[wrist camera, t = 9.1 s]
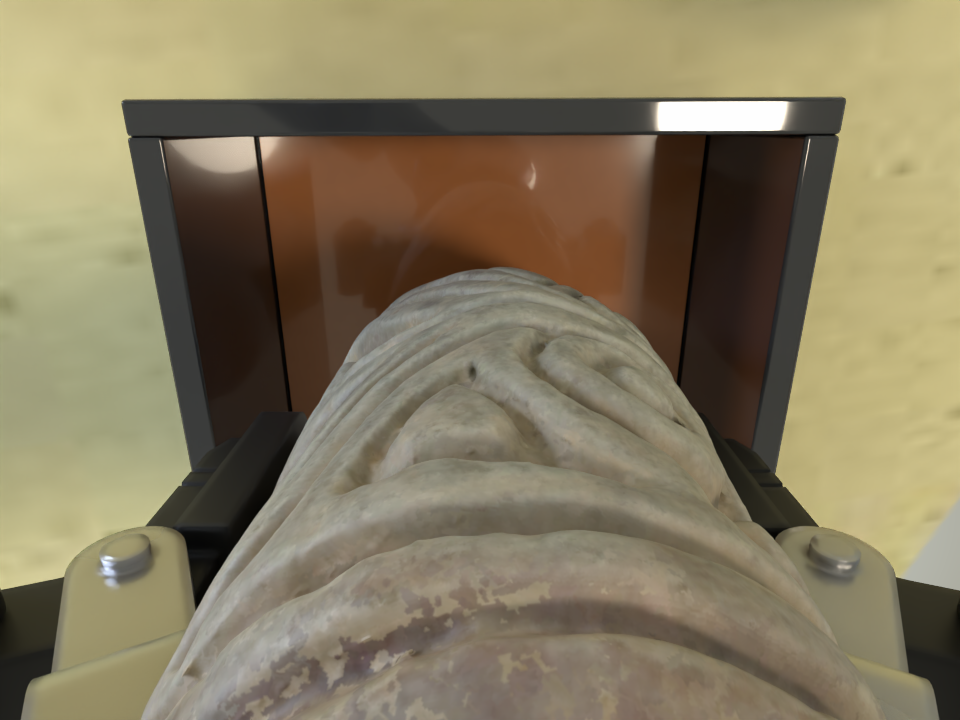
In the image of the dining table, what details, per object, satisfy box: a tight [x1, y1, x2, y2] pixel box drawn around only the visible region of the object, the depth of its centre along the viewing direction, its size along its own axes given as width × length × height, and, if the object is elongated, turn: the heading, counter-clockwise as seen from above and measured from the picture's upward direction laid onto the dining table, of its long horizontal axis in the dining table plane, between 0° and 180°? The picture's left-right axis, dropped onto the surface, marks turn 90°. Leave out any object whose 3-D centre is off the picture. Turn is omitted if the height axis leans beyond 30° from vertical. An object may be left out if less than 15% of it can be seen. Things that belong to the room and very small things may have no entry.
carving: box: [141, 267, 887, 720], centre depth 9 cm, size 6×8×12 cm
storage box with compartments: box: [122, 97, 846, 474], centre depth 17 cm, size 24×12×6 cm, turn 0°
